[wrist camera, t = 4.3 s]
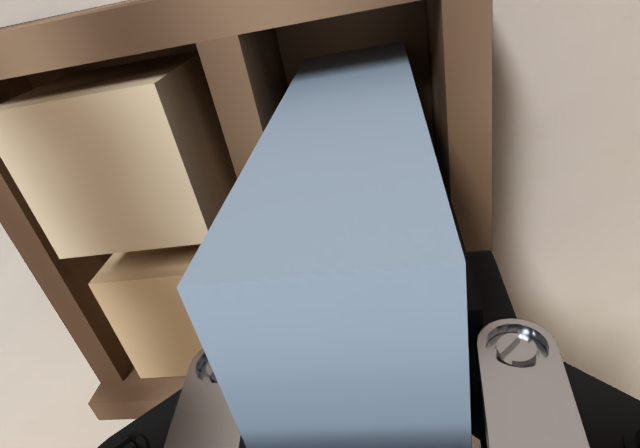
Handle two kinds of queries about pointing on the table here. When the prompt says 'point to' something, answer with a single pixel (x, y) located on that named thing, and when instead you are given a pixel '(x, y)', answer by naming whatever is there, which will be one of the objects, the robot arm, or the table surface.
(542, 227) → the table surface
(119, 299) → the offcut
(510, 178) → the table surface
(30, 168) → the offcut
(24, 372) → the table surface
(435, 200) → the panel
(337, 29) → the rack
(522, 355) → the robot arm
